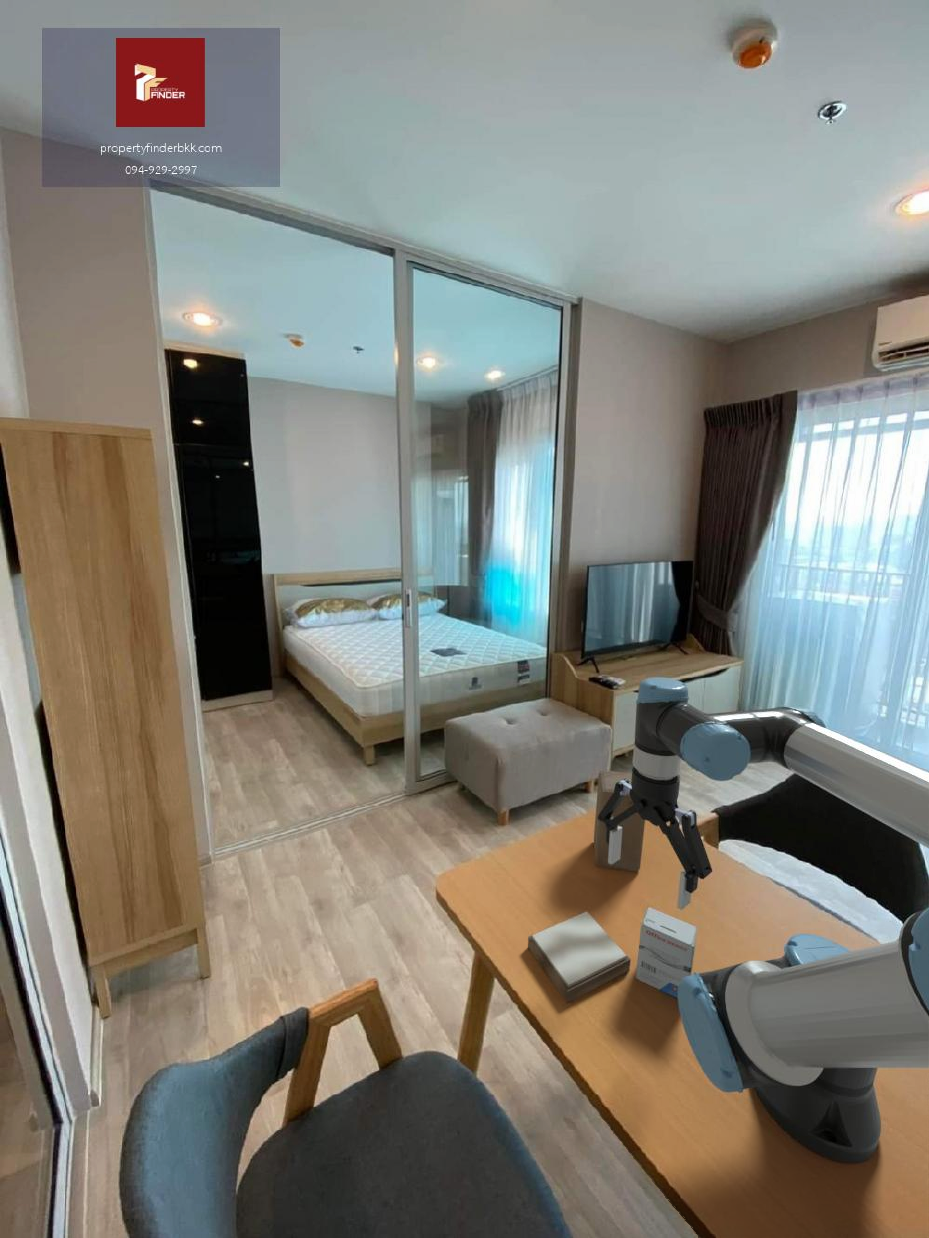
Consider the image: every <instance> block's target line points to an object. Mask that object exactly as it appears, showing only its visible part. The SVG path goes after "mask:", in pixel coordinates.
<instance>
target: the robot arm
mask: <svg viewBox="0 0 929 1238" xmlns="http://www.w3.org/2000/svg"><path fill="white" fill-rule="evenodd" d="M638 687H639V688H638V691H637V692H638V693H637V699H636V701H635V704H636V708H635V725H634V728H635V729H634V742H633V752H632V753H633V755H632V765H633V766H632V768H631V773H632V780H631V785H630V784H629V781H628V780H627V779H623V780H621V781H619V782H617V783H616V784H615V789H614V793H613V794H612V796H611V797H610V799H609V800H608V802H607V803H606V805H605V806H604V808H603V809H602V810H601V812H600V813H599V815H598V819H599V821H603V822H604V823H605V825H606V827H607V833H606V841H607V843H609V854H608V863H609V864H611V865H612V864H613V863H615V862H616V861H618V860H619V859H620V855H621V841H622V827H620V826H618V827H617V825H618V824H620V823H621V822H623V821H624V820H626V819H627V818H629V817H630V816H632V815H634V814H635V813H637V812H638V814H639V815H640V816H641V818H642V819H644V820H645V821H648V822H649V823H650V824H652V826H655V827H659V829H660V831H661V832H662V834H663V835H664V836H666V838H667V840H668V841H669V843H670V845H671V847H672V849H673V851H674V854H676V857H677V858H678V860H679V862H680V864H681V866H682V867H683V870H682V871H680V877H679V886H678V893H677V894H678V895H677V905H676V908H678V910H680V911H683V910H684V909H685V908H686V907H687V906H688V905H689V904H691V899H692V898H691V897H692V894H693V893H694V892H695V891H696V890H697V889H698V883H699V879H700V880H704V879H705V878H707V877H708V876H709V875H710V874H712V872H713V867H712V865H711V862H710V859H709V857H708V853H707V851H706V847H705V844H704V841H703V839H702V837H701V834H700V830H699V828H698V822H697V821H698V820H697V818H698V817H697V816H698V815H697V813H696V811H695V810H693V809H690V810H689V811H686V810H684V809H681V808H680V807H679V805H678V798H679V795H680V793H679V792H680V783H681V775H680V774H681V771H682V761H683V762H685V763H686V765H688V766H689V767H690V768H691V769H692V770H693V769H694V770H695V771H696V772H700V774H702V775H704V776H706V777H707V778H709V779H710V780H713V781H717V782H727V781H731V780H733V779H734V777H735V776H738V775H739V776H740V775H741V774H742V773H743V772H744V771H745V770H746V768H747V767H748V765H750V764H751V765H752V764H760V763H775V764H778V765H780V766H781V767H782V768H784V769H787V770H789V771H791V772H792V773H794V774H796V775H798V776H799V777H801V778H803V779H805V780H807V781H809V782H810V783H812V784H814V785H816V786H818V787H819V788H821V789H822V790H825V792H828V793H829V794H831V795H833V796H835V797H837V798H838V799H840V800H842V801H843V802H846V803H847V804H849V805H851V806H853V807H854V808H856V809H857V810H859V811H861V812H864V813H865V814H867V815H869V816H870V817H872V818H873V819H876V820H877V821H879V822H881V823H883V824H885V825H886V826H888V827H890V828H892V829H893V830H895V831H897V832H898V833H901V834H902V835H904V836H906V837H908V838H909V839H911V840H913V841H915V842H916V843H918V844H920V845H922V846H923V847H925V848H927V849H929V771H928V770H926V769H924V768H921V767H919V766H917V765H915V764H913V763H909V762H907V761H905V760H903V759H901V758H899V757H896V756H893V755H891V754H888V753H886V752H884V751H882V750H880V749H876V748H874V747H873V746H871V745H870V746H869V745H868V744H864V743H863V742H860V741H857V740H856V739H854V738H851V737H848V736H846V735H843V734H840V733H838V732H836V731H834V730H831V729H829V728H827V726H826V724H825V723H824V721H823V720H822V718H819V717H818V715H817V713H816V712H814V711H812V710H810V709H809V708H805V707H799V706H797V707H795V706H794V707H793V706H791V707H790V706H777V707H773V708H763V709H750V710H739V711H726V712H714V713H712V712H711V713H706V712H703V711H701V710H700V709H698V708H696V707H695V706H693V705H691V704H689V703H688V701H689V689H688V687H687V686H686V684H685V683H684V682H682V681H681V680H677V679H675V678H671V677H670V678H669V677H659V676H658V677H657V676H656V677H648V678H645V679H643V680H641V682H640V683H639V685H638ZM627 794H630V797H631V799H632V801H633V804H634V805H632V806H631V807H629V808H628V809H626V810H625V811H624V812H622V813H620V814H619V815H617V816H616V817H614V818H613V817H612V816H611V815H612V814H613V812H614V811H615V809H616V808H617V807H618V805H619V804H620V802H621V801H622V800H623V798H624V797H625V795H627ZM668 822H669V825H668V824H667V823H668ZM680 826H681V829H680ZM783 951H784V954H783V956H781V957H779V958H775V959H769V960H768V959H767V960H748V961H745V962H741V963H737V964H733V965H729V966H728V967H722V968H718V969H714V970H709V971H705V972H701V973H699V972H697V971H696V972H693V973H692V974H691V975H690V976H687V977H684V978H683V979H682V980H681V981H680V983H679V986H678V999H677V1002H678V1003H677V1004H678V1009H679V1010H678V1011H679V1014H680V1015H679V1016H680V1018H681V1022H682V1026H683V1030H684V1032H685V1035H686V1038H687V1040H688V1041H687V1042H688V1044H689V1047H690V1048H691V1051H692V1052H693V1054H694V1057H695V1059H696V1060H697V1063H698V1064H699V1066H700V1068H701V1070H702V1071H703V1073H704V1075H705V1076H706V1078H707V1079H708V1080H709V1081H710V1082H711V1083H712V1085H713V1086H714V1087H715V1088H716V1089H719V1091H721V1092H724V1093H727V1094H728V1093H735V1092H738V1093H739V1094H741V1093H743V1092H744V1090H748V1089H751V1088H754V1090H755V1093H756V1094H757V1095H758V1097H759V1100H760V1101H761V1103H762V1105H763V1107H765V1109H766V1111H767V1112H768V1113H769V1115H771V1117H772V1119H774V1120H775V1122H776V1123H777V1124H778V1125H779V1126H780V1127H781V1128H782V1129H783V1130H784V1131H785V1133H787V1134H788V1135H789V1136H790V1137H791V1138H793V1139H794V1140H795V1141H797V1142H798V1143H799V1144H800V1145H802V1146H804V1147H805V1148H807V1149H808V1150H810V1151H811V1152H813V1153H815V1154H817V1155H819V1156H821V1157H824V1158H825V1159H829V1160H831V1161H835V1162H837V1163H838V1162H839V1163H842V1164H843V1163H844V1164H857V1163H858V1164H859V1163H862V1162H865V1161H867V1160H868V1159H870V1158H871V1157H872V1156H873V1155H874V1153H875V1152H876V1150H877V1148H878V1145H879V1141H880V1137H881V1132H882V1119H881V1113H880V1109H879V1105H878V1100H877V1099H878V1098H877V1094H876V1091H875V1089H876V1088H875V1086H874V1083H875V1079H876V1075H877V1072H878V1069H879V1068H880V1069H884V1068H885V1069H886V1068H887V1069H889V1068H890V1069H891V1068H892V1069H893V1068H895V1069H896V1068H900V1069H903V1068H905V1069H907V1068H908V1069H912V1068H915V1069H917V1068H918V1069H919V1068H922V1069H923V1068H925V1069H928V1068H929V907H927V908H926V909H923V910H920V911H918V912H915V913H913V914H911V915H910V916H909V917H908V918H906V920H905V921H904V922H903V924H902V926H901V929H900V931H899V935H898V940H895V941H894V940H893V941H889V942H886V943H883V944H877V945H874V946H870V947H866V948H862V949H861V948H860V949H858V950H854V951H852V950H850V949H849V948H847V947H846V946H843V945H842V944H839V943H837V942H835V941H833V940H831V939H829V938H826V937H824V936H821V935H816V934H811V933H798V934H797V933H796V934H794V935H792V936H791V937H789V939H788V940H787V942H786V943H785V945H784V949H783Z"/></svg>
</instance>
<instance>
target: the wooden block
mask: <svg viewBox="0 0 929 1238" xmlns="http://www.w3.org/2000/svg"><path fill="white" fill-rule="evenodd" d="M623 779H627V780H628V781H629V784H630V785H631V780H632V772H621V771H611V770H600V772H599V773H598V779H597V792H596V793H597V794H596V807H595V818H594V820H595V821H594V831H593V846H594V860H595V863H596V865H597V866H598V867H600V868H608V869H616V870H621V871H627V872H628V871H629V872H635V873H636V872H640V869H641V864H642V854H643V844H644V835H645V834H644V833H645V824H646V820H644V819H642V818H641V816H640V815H639V814H638V812H637V813H635V814H634V815H632V816H630V817H629V818H627V819H626V820H624V821H623V822H621V823H620V824H618V825H617V827H618V826H620V827H622V841H621V855H620V859H619V860H618V861H616V862H615V863H613V864H612V865H611V864H609V863H608V854H609V843H607V841H606V833H607V827H606V825H605V823H604V822H603V821H599V819H598V815H599V813H600V812H601V810H602V809H603V808H604V806H605V805H606V803H607V802H608V800H609V799H610V797H611V796H612V794H613V793H614V789H615V784H616V783H617V782H619V781H621V780H623ZM632 805H634V804H633V801H632V799H631V797H630V794H627V795H625V797H624V798H623V800H622V801H621V802H620V804H619V805H618V807H617V808H616V809H615V811H614V812H613V814H612V815H611V816H612V817H613V818H614V817H616V816H617V815H619V814H620V813H622V812H624V811H625V810H626V809H628V808H629V807H631V806H632Z"/></svg>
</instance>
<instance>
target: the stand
mask: <svg viewBox="0 0 929 1238" xmlns="http://www.w3.org/2000/svg"><path fill="white" fill-rule="evenodd" d="M527 948H528V949H530V950H529V951H530V953H531V954H532V955H533V957H534V956H535V957H534V958H535V959H536V961H537V962H538V964H539V965H540V967H541V968H542V970H543V971H544V972H545V974H546V976H547V977H548V978H549V980H550V981H551V983H552V984H553V985H554V987H555V988H556V989H557V991H558V992H559V994H560V995H561V996H562V998H563V999H564V1002H565V1003H567V1004H568V1003H570V1002H572V1001H574V1000H575V999H578V998H579V997H582V996H583V995H585V994H587V993H589V992H591V991H592V990H595V989H596V988H599V987H601V986H602V985H604V984H607V983H608V982H609V981H612V980H614V979H616V978H618V977H619V976H621V975H623V974H625V973H627V972H629V971H630V968H631V961H632V960H631V958H630V957H629V956H628V955H627V954H626V952H625V951H624V950H623V949H622V948H621V947H620V946H619V945H618V944H617V942H616V941H614V939H613V938H612V937H611V936H610V935H609V934H608V933H607V932H606V931H605V930H604V928H603V927H602V926H601V925H600V924H599V923H598V922H597V920H595V919H594V918H593V916H592V915H591V914H590V913H589V912H588V910H587V911H584V912H582V913H579V914H577V915H575V916H572V917H570V918H569V919H566V920H564V921H562V922H559V923H557V924H555V925H552V926H550V927H548V928H545V929H543V930H541V931H539V932H536V933H533V934H531V935H529V936H528V939H527Z"/></svg>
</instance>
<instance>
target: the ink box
mask: <svg viewBox="0 0 929 1238" xmlns="http://www.w3.org/2000/svg"><path fill="white" fill-rule="evenodd" d="M639 933H640V934H639V944H638V953H637V963H636V972H635V979H636V980H639V981H640V982H641V983H644V984H646V985H649V986H650V987H652V988H655V989H657V990H659V991H661V992H663V993H665V994H668V995H670V997H673V998H676V999H677V1000H678V986H679V983H680V981H681V980H682V979H683V978H684V977H687V976H690V975H692V974H693V973H692V972H693V971H692V970H693V965H694V964H693V963H694V957H695V950H696V941H697V935H698V927H697V926H695V925H692V924H690V923H688V922H685V921H683V920H681V919H678V918H675V917H673V916H671V915H669V914H666V913H664V912H661V911H659V910H657V909H655V908H652V907H650V906H648V907H647V908H646V910H645V913H644V915H643V919H642V921H641V923H640V932H639Z"/></svg>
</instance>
